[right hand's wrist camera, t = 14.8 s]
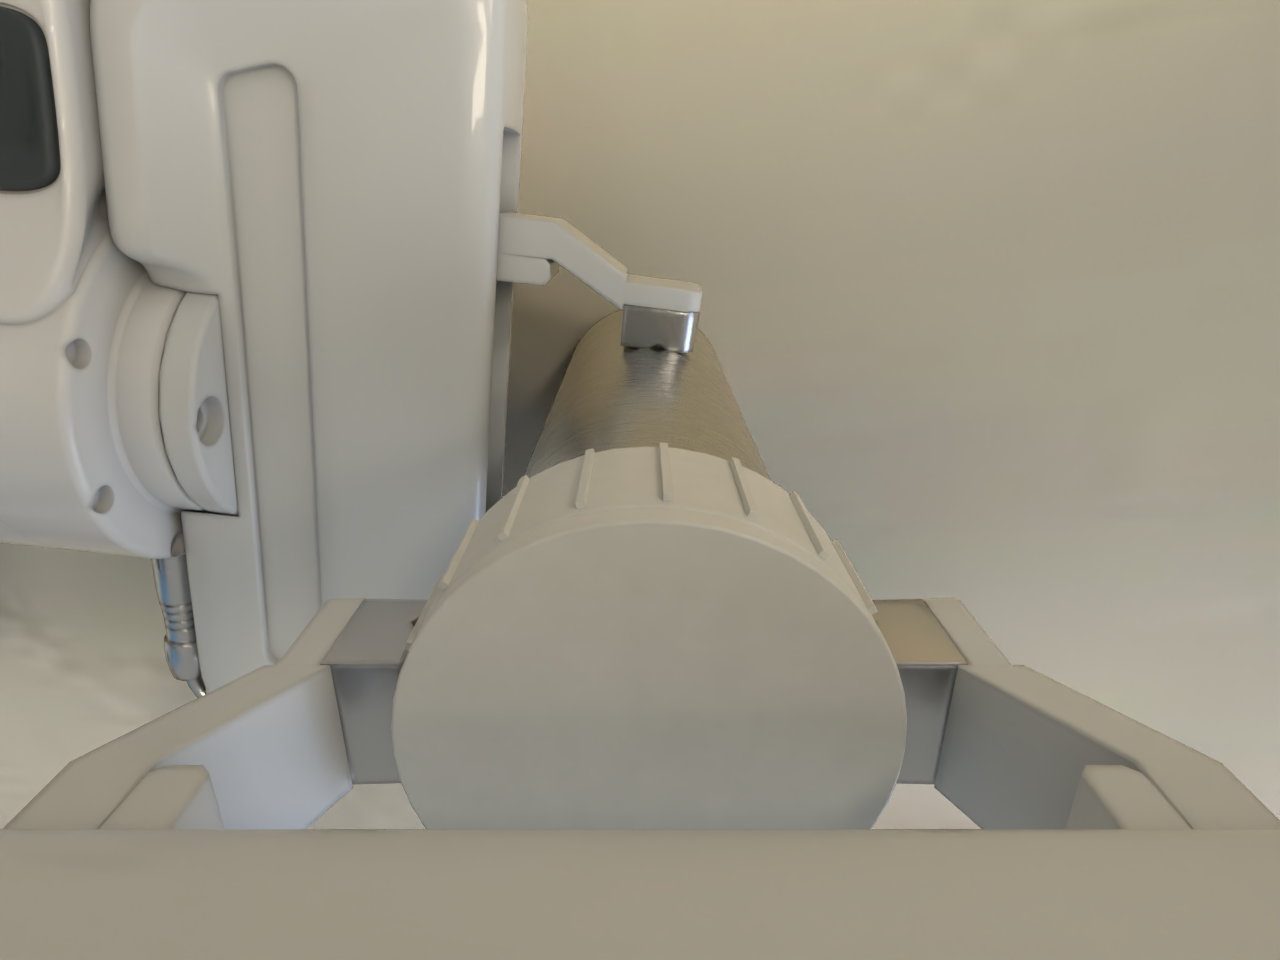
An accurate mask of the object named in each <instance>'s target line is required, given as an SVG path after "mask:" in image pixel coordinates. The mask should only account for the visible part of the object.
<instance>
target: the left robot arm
mask: <svg viewBox="0 0 1280 960" xmlns="http://www.w3.org/2000/svg"><path fill="white" fill-rule="evenodd" d="M528 19H529V17H528V8H527V4H526V1H525V0H0V543H9V544H19V545H28V546H38V547H47V548H57V549H69V550H78V551H87V552H96V553H105V554H115V555H124V556H133V557H142V558H151V561H152V568H153V575H154V582H155V588H156V592H157V597H158V600H159V604H160V606H161V609H162V613H163V616H164V622H165V628H166V635H165V637H164V651H165V657H166V661H167V664H168V667H169V669H170V672H171V673H172V675H173V677H174V678H176V679H177V680H182V681H187V683H188V686H189V687H190V689H191V690H192V691H193V693H194V694H195V695H196V696H197V697H198V698H200V697H202V696H204V695H206V694H208V693H210V692H212V691H214V690H216V689H218V688H220V687H222V686H224V685H226V684H228V683H230V682H232V681H234V680H236V679H238V678H240V677H242V676H244V675H246V674H248V673H250V672H252V671H254V670H256V669H258V668H260V667H262V666H264V665H277V663H278V662H279V661H280V659H281V658H282V657H283V656H284V654H285V653H286V652H287V650H288V649H289V648H290V647H291V645H292V644H293V643H294V641H295V640H296V639H297V638H298V636H299V635H300V634H301V632H302V631H303V630H304V629H305V627H306V626H307V625H308V623H309V622H310V621H311V619H312V618H313V617H314V616H315V614H316V613H317V612H318V610H319V609H320V608H321V607H322V605H323V604H324V603H325V602H326V601H327V600H330V599H341V598H366V599H414V600H428V599H429V597H430V595H431V593H432V591H433V589H434V587H435V585H436V583H437V581H438V579H439V577H440V575H441V574H442V572H445V571H446V569H447V567H448V565H449V563H450V561H451V559H452V557H453V555H454V553H455V551H456V549H457V547H458V545H459V543H460V541H461V539H462V537H463V535H464V533H465V531H466V529H467V527H468V525H469V523H470V522H471V521H472V520H473V518H475V519H477V520H478V521H480V519H481V518H482V517H483V516H484V515H485V513H486V512H487V511H488V510H489V509H490V508H491V507H492V506H494V505H495V504H496V503H497V502H498V501H499V500H500V499H502V491H503V473H504V455H505V437H506V419H507V401H508V383H509V365H510V347H511V329H512V311H513V293H514V282H515V283H524V284H533V285H542V286H544V285H545V284H546V283H547V282H548V281H549V280H550V279H551V278H553V277H554V276H555V275H556V274H557V273H558V272H559V265H560V266H562V267H563V268H564V269H566V270H567V271H569V272H570V273H571V274H573V275H574V276H575V277H577V278H578V279H579V280H581V281H582V282H584V283H585V284H586V285H588V286H589V287H590V288H592V289H593V290H594V291H596V292H597V293H599V294H600V295H601V296H603V297H604V298H605V299H607V300H608V301H609V302H611V303H612V304H614V305H615V306H616V307H618V308H619V309H620V310H622V308H623V305H624V311H623V321H622V332H621V343H620V345H621V346H629V347H636V348H651V347H652V346H654V345H656V344H660V345H661V346H662V347H663V348H664V349H665V350H668V351H672V352H678V353H689V352H693V349H694V343H695V337H696V332H697V326H698V320H699V314H700V306H701V300H702V294H703V290H702V288H701V286H700V285H698V284H695V283H691V282H687V281H680V280H672V279H664V278H656V277H648V276H641V275H633V274H628V268H626V267H625V266H624V265H623V264H621V263H620V262H619V261H617V260H616V259H615V258H614V257H612V256H611V255H610V254H608V253H607V252H606V251H605V250H603V249H602V248H601V247H599V246H598V245H597V244H596V243H594V242H593V241H592V240H590V239H589V238H588V237H586V236H585V235H584V234H583V233H581V232H580V231H579V230H577V229H576V228H575V227H574V226H572V225H571V224H570V223H568V222H567V221H566V220H565V219H562V218H554V217H546V216H539V215H531V214H523V213H518V202H519V184H520V166H521V148H522V130H523V112H524V94H525V76H526V58H527V39H528Z"/></svg>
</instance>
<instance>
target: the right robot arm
mask: <svg viewBox="0 0 1280 960" xmlns="http://www.w3.org/2000/svg"><path fill="white" fill-rule="evenodd" d="M427 601H428V600H414V599H366V598H341V599H330V600H327V601H326V602H325V603H324V604H323V605H322V607H321V608H320V609H319V610H318V612H317V613H316V614H315V616H314V617H313V618H312V619H311V621H310V622H309V623H308V625H307V626H306V627H305V629H304V630H303V631H302V632H301V634H300V635H299V636H298V638H297V639H296V640H295V641H294V643H293V644H292V645H291V647H290V648H289V649H288V650H287V652H286V653H285V654H284V656H283V657H282V658H281V659H280V661H279V662H278V663H277V665H264V666H262V667H260V668H258V669H256V670H254V671H252V672H250V673H248V674H246V675H244V676H242V677H240V678H238V679H236V680H234V681H232V682H230V683H228V684H226V685H224V686H222V687H220V688H218V689H216V690H214V691H212V692H210V693H208V694H206V695H204V696H202V697H200V698H198V699H196V700H194V701H192V702H190V703H188V704H186V705H183V706H181V707H179V708H177V709H175V710H173V711H171V712H169V713H167V714H165V715H163V716H161V717H159V718H157V719H155V720H153V721H151V722H149V723H147V724H145V725H143V726H141V727H139V728H137V729H135V730H133V731H131V732H129V733H127V734H125V735H123V736H121V737H119V738H117V739H115V740H113V741H111V742H109V743H107V744H105V745H103V746H101V747H99V748H97V749H95V750H93V751H91V752H89V753H87V754H85V755H83V756H81V757H79V758H77V759H75V760H73V761H71V762H69V763H68V764H67V765H66V766H65V767H64V768H63V769H62V770H61V771H60V772H59V773H58V774H57V775H56V776H55V777H54V778H53V779H52V780H51V781H50V782H49V783H48V784H47V785H46V786H45V787H44V788H43V789H42V790H41V791H40V792H39V793H38V794H37V795H36V796H35V797H34V798H33V799H32V800H31V801H30V802H29V803H28V804H27V805H26V806H25V807H24V808H23V809H22V810H21V811H20V812H19V813H18V814H17V815H16V816H15V817H14V818H13V819H12V820H11V821H10V822H9V823H8V824H7V825H6V826H5V827H4V828H3V829H0V960H1280V820H1279V819H1278V818H1277V817H1276V816H1275V815H1274V814H1273V813H1272V812H1271V811H1270V810H1269V809H1268V808H1267V807H1266V806H1265V805H1264V804H1263V803H1262V802H1261V801H1260V800H1259V799H1258V798H1257V797H1256V796H1255V795H1253V794H1252V793H1251V792H1250V791H1249V790H1248V789H1247V788H1246V787H1245V786H1244V785H1243V784H1242V783H1241V782H1240V781H1239V780H1238V779H1237V778H1236V777H1235V776H1234V775H1233V774H1232V773H1231V772H1230V771H1229V770H1228V769H1227V768H1226V767H1225V766H1224V765H1223V764H1222V763H1220V762H1218V761H1216V760H1214V759H1212V758H1210V757H1208V756H1206V755H1204V754H1202V753H1200V752H1198V751H1196V750H1194V749H1192V748H1190V747H1188V746H1186V745H1184V744H1182V743H1180V742H1178V741H1176V740H1174V739H1172V738H1170V737H1168V736H1166V735H1164V734H1162V733H1160V732H1158V731H1156V730H1154V729H1152V728H1150V727H1148V726H1145V725H1143V724H1141V723H1139V722H1137V721H1135V720H1133V719H1131V718H1129V717H1127V716H1125V715H1123V714H1121V713H1119V712H1117V711H1115V710H1113V709H1111V708H1109V707H1107V706H1105V705H1103V704H1101V703H1099V702H1097V701H1095V700H1093V699H1091V698H1089V697H1087V696H1085V695H1083V694H1081V693H1079V692H1077V691H1075V690H1073V689H1071V688H1069V687H1067V686H1065V685H1063V684H1061V683H1058V682H1056V681H1054V680H1052V679H1050V678H1048V677H1046V676H1044V675H1042V674H1040V673H1038V672H1036V671H1034V670H1032V669H1030V668H1028V667H1026V666H1024V665H1011V663H1010V662H1009V661H1008V660H1007V658H1006V657H1005V656H1004V655H1003V653H1002V652H1001V651H1000V650H999V648H998V647H997V646H996V645H995V643H994V642H993V641H992V640H991V638H990V637H989V636H988V635H987V633H986V632H985V631H984V630H983V628H982V627H981V626H980V625H979V623H978V622H977V621H976V620H975V618H974V617H973V616H972V614H971V613H970V612H969V611H968V609H967V608H966V607H965V606H964V604H963V603H962V602H961V601H960V600H957V599H955V598H936V599H901V600H872V601H873V603H874V605H875V607H876V608H877V610H878V612H876V613H874V614H872V616H873V618H874V620H875V622H876V624H877V625H878V627H879V629H880V631H881V633H882V634H883V636H884V638H885V640H886V642H887V644H888V647H889V649H890V651H891V653H892V655H893V658H894V660H895V662H896V664H897V666H898V670H899V674H900V678H901V681H902V685H903V689H904V693H905V701H906V712H907V733H906V747H905V753H904V757H903V761H902V765H901V769H900V774H899V777H898V779H897V782H896V783H906V784H935V786H934V787H935V788H936V789H937V790H938V791H939V792H940V793H941V794H943V795H944V796H945V797H946V798H947V799H948V800H949V801H951V802H952V803H953V804H954V805H955V806H956V807H957V808H959V809H960V810H961V811H962V812H963V813H964V814H965V815H967V816H968V817H969V818H970V819H971V820H972V821H973V822H974V823H976V824H977V825H978V826H979V827H980V828H981V829H307V828H308V827H309V826H310V825H311V824H312V823H314V822H315V821H316V820H317V819H318V818H319V817H320V816H322V815H323V814H324V813H325V812H326V811H327V810H328V809H329V808H331V807H332V806H333V805H334V804H335V803H336V802H337V801H338V800H340V799H341V798H342V797H343V796H344V795H345V794H346V793H348V792H349V791H350V790H351V789H352V788H353V785H352V784H380V783H401V780H400V776H399V772H398V769H397V765H396V761H395V757H394V751H393V741H392V730H391V722H392V708H393V698H394V694H395V689H396V685H397V681H398V677H399V673H400V670H401V668H402V666H403V663H404V661H405V658H406V656H407V654H408V651H409V650H406V649H404V647H405V644H406V642H407V640H408V638H409V636H410V634H411V632H412V630H413V628H414V626H415V624H416V622H417V620H418V618H419V616H420V614H421V612H422V610H423V608H424V607H425V605H426V603H427Z"/></svg>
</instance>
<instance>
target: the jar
mask: <svg viewBox="0 0 1280 960" xmlns="http://www.w3.org/2000/svg"><path fill="white" fill-rule="evenodd" d="M623 311H624V310H620V311H618V312H615V313H613V314H610V315H609V316H607V317H605V318H603V319H601V320H600V321H599V322H597V323H596V324H595V325H594V326H593V327H592V328H591V329H589V330H588V331H587V332H586V334H585V335H584V336H583V338H582V339H581V340H580V342H579V344H578V345H577V347H576V349H575V351H574V354H573V356H572V358H571V361H570V363H569V366H568V368H567V371H566V373H565V376H564V378H563V381H562V383H561V385H560V388H559V390H558V393H557V395H556V398H555V400H554V403H553V405H552V408H551V410H550V412H549V415H548V417H547V420H546V422H545V425H544V427H543V430H542V432H541V435H540V437H539V439H538V442H537V444H536V447H535V449H534V452H533V454H532V457H531V459H530V462H529V464H528V466H527V469H526V471H525V474H524V476H525V475H527V476H528V478H531V477H532V476H534V475H536V474H539V473H541V472H543V471H545V470H547V469H549V468H551V467H553V466H555V465H557V464H560V463H563V462H566V461H568V460H571V459H574V458H577V457H580V456H583V455H585V451H586V450H588V449H592V448H593V449H594V452H595V453H597V452H602V451H606V450H611V449H619V448H632V447H659V443H660V442H661V443H668V448H678V449H684V450H689V451H695V452H701V453H706V454H709V455H712V456H715V457H719V458H722V459H725V460H728V461H730V460H731V458H732V457H734V458H737V459H739V460H740V463H741V465H742V466H743V467H745V468H747V469H750V470H752V471H754V472H756V473H758V474H760V475H762V476H763V477H765V478H766V479H768V480H770V481H771V479H770V477H769V475H768V472H767V470H766V468H765V466H764V463H763V461H762V459H761V457H760V454H759V452H758V450H757V448H756V445H755V443H754V441H753V438H752V436H751V434H750V432H749V429H748V427H747V425H746V423H745V420H744V418H743V416H742V413H741V411H740V409H739V407H738V404H737V402H736V400H735V398H734V395H733V393H732V391H731V389H730V386H729V384H728V382H727V379H726V377H725V375H724V373H723V370H722V368H721V366H720V364H719V361H718V359H717V357H716V354H715V352H714V350H713V348H712V346H711V344H710V343H709V341H708V340H707V338H706V337H705V336H704V334H703V333H702V332H701V331H700V330H699V329H698V328H697V332H696V337H695V343H694V349H693V352H689V353H678V352H672V351H668V350H665V349H664V348H663V347H662V346H661V345H660V344H656V345H654V346H652V347H651V348H636V347H629V346H621V345H620V343H621V332H622V321H623Z"/></svg>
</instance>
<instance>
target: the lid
mask: <svg viewBox="0 0 1280 960" xmlns="http://www.w3.org/2000/svg"><path fill="white" fill-rule="evenodd" d="M876 612H878V610H877V608H876V607H875V605H874V603H873V601H872V600H871V598H870V596H869V594H868V592H867V591H866V589H865V587H864V585H863V583H862V582H861V580H860V578H859V576H858V575H857V573H856V571H855V569H854V567H853V566H852V564H851V562H850V560H849V559H848V557H847V555H846V553H845V551H844V550H843V548H842V546H841V544H840V543H839V541H838V539H836V540H834V541H832V542H831V540H830V539H829V537H828V536H827V534H826V533H825V531H824V529H823V528H822V526H821V525H820V524H819V523H818V522H817V521H816V520H815V518H814V517H813V516H812V515H811V514H810V513H809V512H808V511H807V509H806V507H805V505H804V504H803V502H802V500H801V498H800V496H799V495H798V494H797V493H796V492H795V491H793V492H792V493H791V494H788V493H787V492H786V491H785V490H784V489H782V488H781V487H779V486H778V485H776V484H774V483H773V482H771V481H770V480H768V479H766V478H765V477H763V476H762V475H760V474H758V473H756V472H754V471H752V470H750V469H747V468H745V467H743V466H742V465H741V463H740V460H739V459H737V458H734V457H732V458H731V460H730V461H728V460H725V459H722V458H719V457H715V456H712V455H709V454H706V453H701V452H695V451H689V450H684V449H678V448H668V443H661V442H660V443H659V447H632V448H619V449H611V450H606V451H602V452H597V453H595V452H594V449H593V448H592V449H588V450H586V451H585V455H583V456H580V457H577V458H574V459H571V460H568V461H566V462H563V463H560V464H557V465H555V466H553V467H551V468H549V469H547V470H545V471H543V472H541V473H539V474H536V475H534V476H532V477H531V478H528V476H527V475H525V476H523V477H521V478H520V479H519V481H518V484H517V486H516V488H514V489H513V490H511V491H510V492H508V493H507V494H506V495H505V496H504V497H503V498H502V499H500V500H499V501H498V502H497V503H496V504H495V505H494V506H492V507H491V508H490V509H489V510H488V511H487V512H486V513H485V515H484V516H483V517H482V518H481V519H480V521H478V520H477V519H475V518H473V520H472V521H471V522H470V523H469V525H468V527H467V529H466V531H465V533H464V535H463V537H462V539H461V541H460V543H459V545H458V547H457V549H456V551H455V553H454V555H453V557H452V559H451V561H450V563H449V565H448V567H447V569H446V571H445V572H442V574H441V575H440V577H439V579H438V581H437V583H436V585H435V587H434V589H433V591H432V593H431V595H430V597H429V599H428V601H427V603H426V605H425V607H424V608H423V610H422V612H421V614H420V616H419V618H418V620H417V622H416V624H415V626H414V628H413V630H412V632H411V634H410V636H409V638H408V640H407V642H406V644H405V647H404V649H406V650H409V651H408V654H407V656H406V658H405V661H404V663H403V666H402V668H401V670H400V673H399V677H398V681H397V685H396V689H395V694H394V698H393V708H392V722H391V730H392V741H393V751H394V757H395V761H396V765H397V769H398V772H399V776H400V780H401V783H402V785H403V787H404V790H405V792H406V794H407V796H408V799H409V801H410V803H411V806H412V807H413V809H414V810H415V812H416V814H417V815H418V817H419V818H420V820H421V822H422V823H423V825H424V826H425V828H426V829H871V828H872V827H873V826H874V824H875V823H876V821H877V819H878V818H879V816H880V814H881V813H882V811H883V809H884V808H885V806H886V804H887V803H888V801H889V799H890V796H891V794H892V792H893V789H894V787H895V784H896V782H897V779H898V777H899V774H900V769H901V765H902V761H903V757H904V753H905V747H906V733H907V712H906V701H905V693H904V689H903V685H902V681H901V678H900V674H899V670H898V666H897V664H896V662H895V660H894V658H893V655H892V653H891V651H890V649H889V647H888V644H887V642H886V640H885V638H884V636H883V634H882V633H881V631H880V629H879V627H878V625H877V624H876V622H875V620H874V618H873V616H872V614H874V613H876Z"/></svg>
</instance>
